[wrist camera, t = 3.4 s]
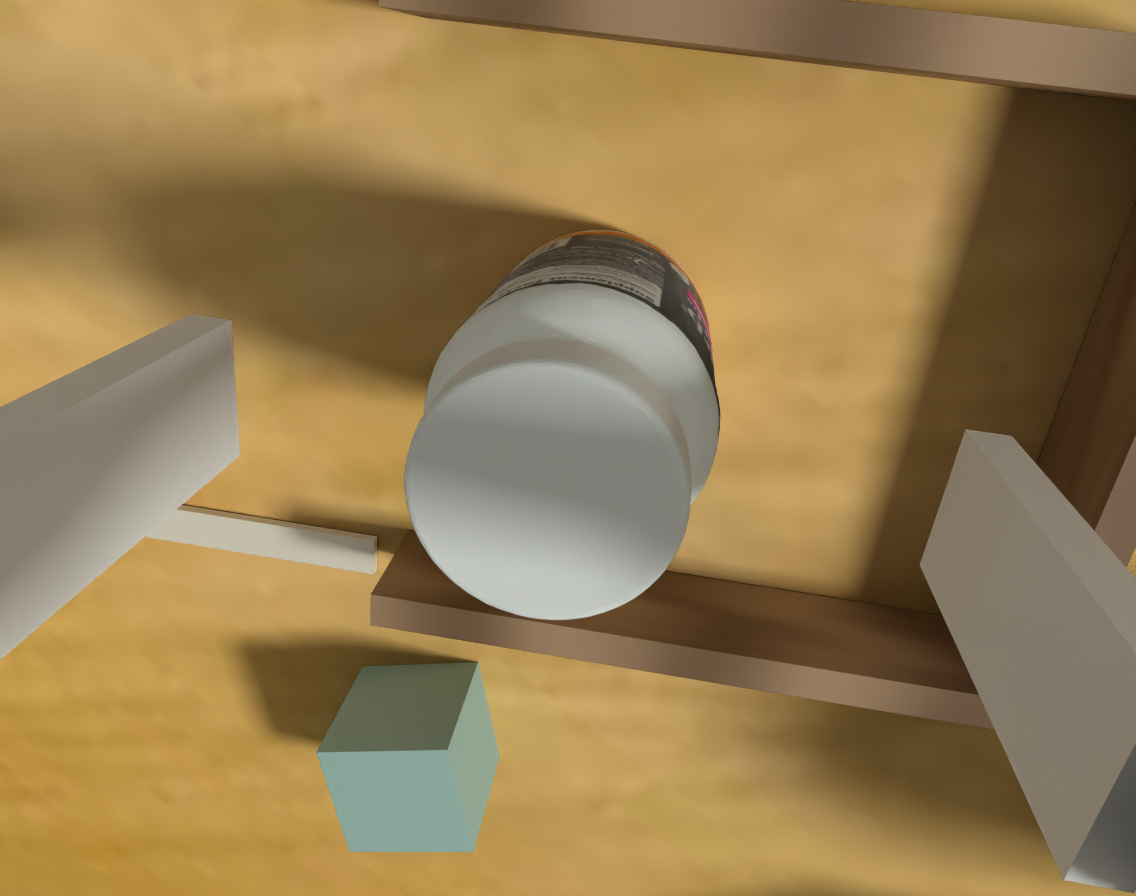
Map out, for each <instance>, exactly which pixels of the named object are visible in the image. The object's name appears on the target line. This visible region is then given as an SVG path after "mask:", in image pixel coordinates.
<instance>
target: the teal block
mask: <svg viewBox="0 0 1136 896" xmlns="http://www.w3.org/2000/svg"><path fill="white" fill-rule="evenodd" d="M316 753H317V756H318V759H319V762H320V765H321V768H322V771H323V774H324V777H325V780H326V783H327V786H328V789H329V792H330V795H331V798H332V801H333V804H334V807H335V810H336V813H337V816H338V819H339V822H340V824H341V827H342V830H343V833H344V836H345V839H346V842H347V845H348V848H349V851H350V852H474V849H475V845H476V842H477V838H478V834H479V830H480V827H481V823H482V819H483V816H484V812H485V808H486V804H487V801H488V797H489V793H490V790H491V786H492V782H493V779H494V775H495V771H496V767H497V764H498V760H499V752H498V747H497V743H496V738H495V734H494V730H493V725H492V721H491V716H490V712H489V707H488V703H487V698H486V694H485V690H484V685H483V681H482V676H481V672H480V667H479V663H478V662H459V663H435V664H410V665H386V666H363V667H362V669H361V671H360V673H359V675H358V676H357V678H356V680H355V682H354V684H353V686H352V687H351V689H350V691H349V693H348V695H347V697H346V699H345V700H344V702H343V704H342V706H341V708H340V710H339V712H338V713H337V715H336V717H335V719H334V721H333V723H332V724H331V726H330V728H329V730H328V732H327V734H326V736H325V737H324V739H323V741H322V743H321V745H320V747H319V748H318V750H317V752H316Z"/></svg>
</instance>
